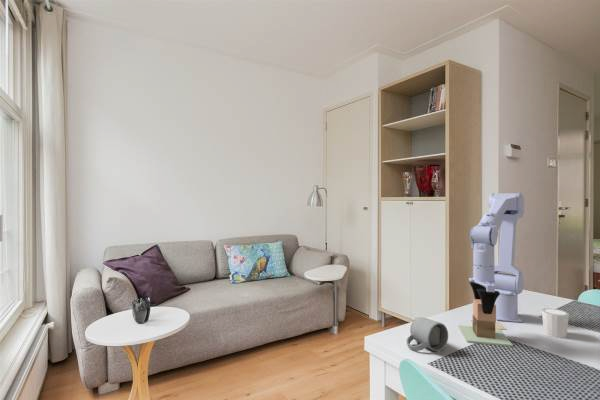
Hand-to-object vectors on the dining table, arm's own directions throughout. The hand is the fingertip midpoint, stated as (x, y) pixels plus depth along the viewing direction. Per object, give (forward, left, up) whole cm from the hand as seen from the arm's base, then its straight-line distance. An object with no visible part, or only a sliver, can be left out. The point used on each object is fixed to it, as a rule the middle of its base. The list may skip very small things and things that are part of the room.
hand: (483, 309), depth 102 cm
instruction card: (-10, +4, -8) cm, 14 cm away
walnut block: (0, 0, -8) cm, 8 cm away
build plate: (0, 0, -8) cm, 8 cm away
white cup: (-7, +22, -8) cm, 25 cm away
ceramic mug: (+12, -18, -8) cm, 23 cm away
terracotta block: (0, 0, -3) cm, 3 cm away
